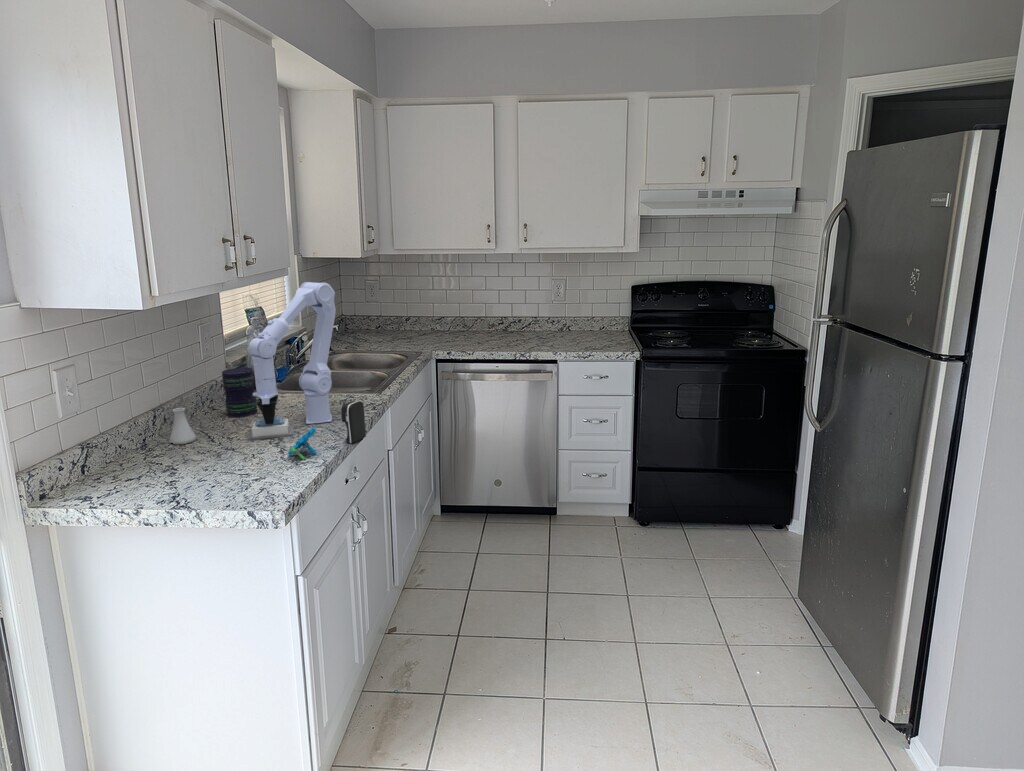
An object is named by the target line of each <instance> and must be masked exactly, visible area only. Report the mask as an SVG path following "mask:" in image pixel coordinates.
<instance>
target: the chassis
mask: <svg viewBox="0 0 1024 771" xmlns="http://www.w3.org/2000/svg"><path fill="white" fill-rule="evenodd" d="M255 422H256V421H254V422H253V424H252V428H251V429H249V432H248V435H247V438H246V441H254V440H256V441H257V440H266V439H275V438H284V437H294V434H293V433H294V432H295V424H291V425H290V423H289V418H285V422H284V423H280V424H281V425H274V426H264V427H260V425H257V426H255Z"/></svg>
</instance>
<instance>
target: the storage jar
mask: <svg viewBox="0 0 1024 771" xmlns="http://www.w3.org/2000/svg"><path fill="white" fill-rule="evenodd" d="M253 372H254V368H252V367H234V368H229V369H224V370H222V371H221V376H222V385H223V389H224V392H225V393H224V395H225V400H224V402H225V408H226V412H227V415H226V416H227V418H231V419H233V418H234V419H238V418H240V419H241V418H248V417H251V415H252V416H254V414H255V415H257V414H258V413H257V412H258V405H257V402H258V401H257V396H253V393H256V392H255V375H254V373H253ZM256 413H257V414H256Z"/></svg>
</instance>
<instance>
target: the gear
mask: <svg viewBox="0 0 1024 771" xmlns="http://www.w3.org/2000/svg"><path fill="white" fill-rule="evenodd" d="M315 432H317V428H316V427H315V426H313V427H312V428H310V429H309V430H308V431H307V433H304V434H303V435H302V437H299V439H298V440H297V441H296V442H295V444H294V445H293V446H291V447H290V448H289V451H288V452H287V454H288V455H289V456H290V457H291V456H292V455H293V453H294V455H295V456H298V457H300V459H302V461H304V459H305V460H306V456H304V455H303V454H302V453H301V452H302V451H304V450H305V449H306V450H308V451H309V452H311V454H312V455H314V456H315V455H316V454H317V451H316V450H315V449H314V448H313V447H312V446H311V445H310V443H309V439H310V438H312V436H314V433H315Z"/></svg>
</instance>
